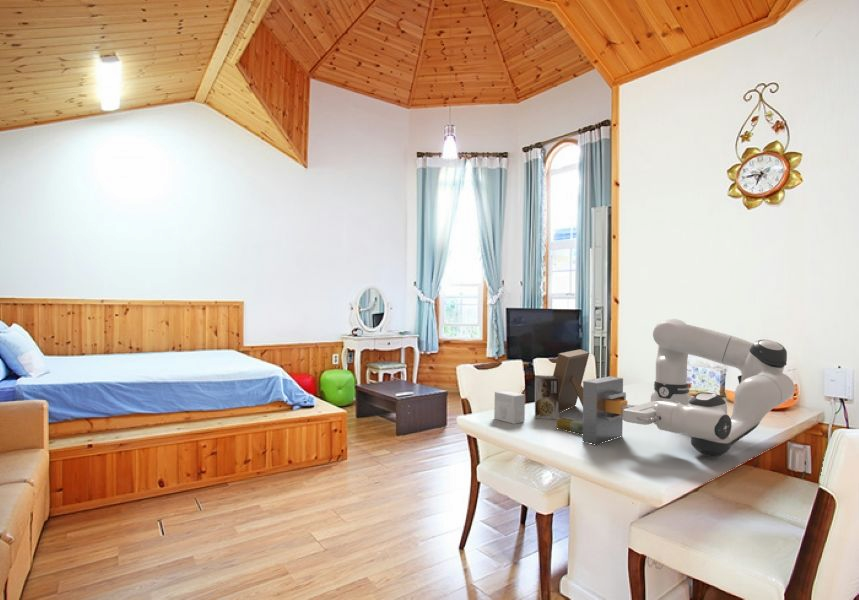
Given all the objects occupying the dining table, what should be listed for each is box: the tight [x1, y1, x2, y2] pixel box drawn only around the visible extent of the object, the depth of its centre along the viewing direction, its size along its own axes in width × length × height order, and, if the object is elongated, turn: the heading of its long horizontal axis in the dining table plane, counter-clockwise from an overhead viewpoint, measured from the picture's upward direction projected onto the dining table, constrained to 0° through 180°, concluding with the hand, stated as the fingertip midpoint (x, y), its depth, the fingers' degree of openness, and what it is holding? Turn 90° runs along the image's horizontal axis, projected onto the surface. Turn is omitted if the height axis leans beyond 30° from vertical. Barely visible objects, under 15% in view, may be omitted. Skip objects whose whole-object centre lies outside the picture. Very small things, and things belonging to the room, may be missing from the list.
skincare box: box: [493, 390, 526, 425], centre depth 186 cm, size 10×6×10 cm, turn 39°
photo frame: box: [552, 349, 590, 414], centre depth 200 cm, size 15×22×25 cm
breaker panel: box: [582, 375, 627, 446], centre depth 161 cm, size 16×8×20 cm, turn 129°
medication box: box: [555, 417, 583, 435], centre depth 172 cm, size 12×3×4 cm, turn 41°
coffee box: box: [534, 374, 560, 420], centre depth 191 cm, size 9×6×16 cm
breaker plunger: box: [605, 398, 628, 415], centre depth 160 cm, size 4×10×4 cm, turn 39°
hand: (624, 407), depth 156 cm, fingers closed, pressing on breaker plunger
